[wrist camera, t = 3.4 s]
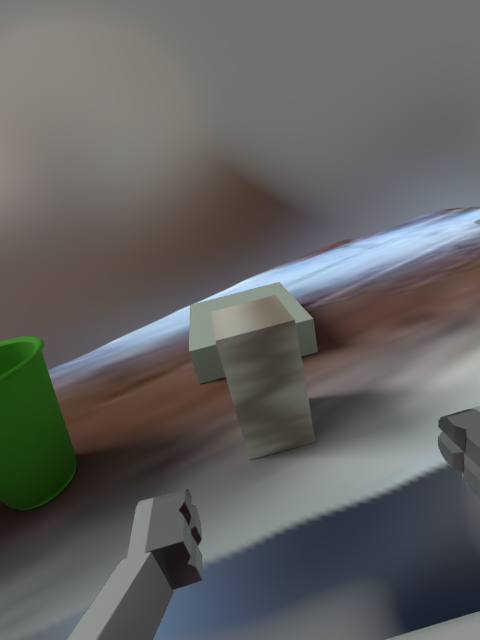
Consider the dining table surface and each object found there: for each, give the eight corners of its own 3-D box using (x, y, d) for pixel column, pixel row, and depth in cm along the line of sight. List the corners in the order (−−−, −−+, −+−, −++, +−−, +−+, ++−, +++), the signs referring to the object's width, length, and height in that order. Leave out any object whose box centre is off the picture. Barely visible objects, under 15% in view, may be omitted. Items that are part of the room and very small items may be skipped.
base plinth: (199, 384, 34) (189, 351, 32) (197, 330, 46) (190, 305, 45) (318, 352, 34) (313, 318, 33) (283, 307, 47) (279, 282, 45)
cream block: (249, 460, 23) (215, 340, 19) (240, 415, 28) (211, 311, 24) (315, 441, 23) (294, 319, 19) (295, 400, 28) (275, 295, 24)
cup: (45, 438, 31) (-15, 340, 27) (123, 440, 28) (69, 331, 24) (-49, 532, 23) (-156, 415, 19) (44, 548, 21) (-56, 415, 16)
